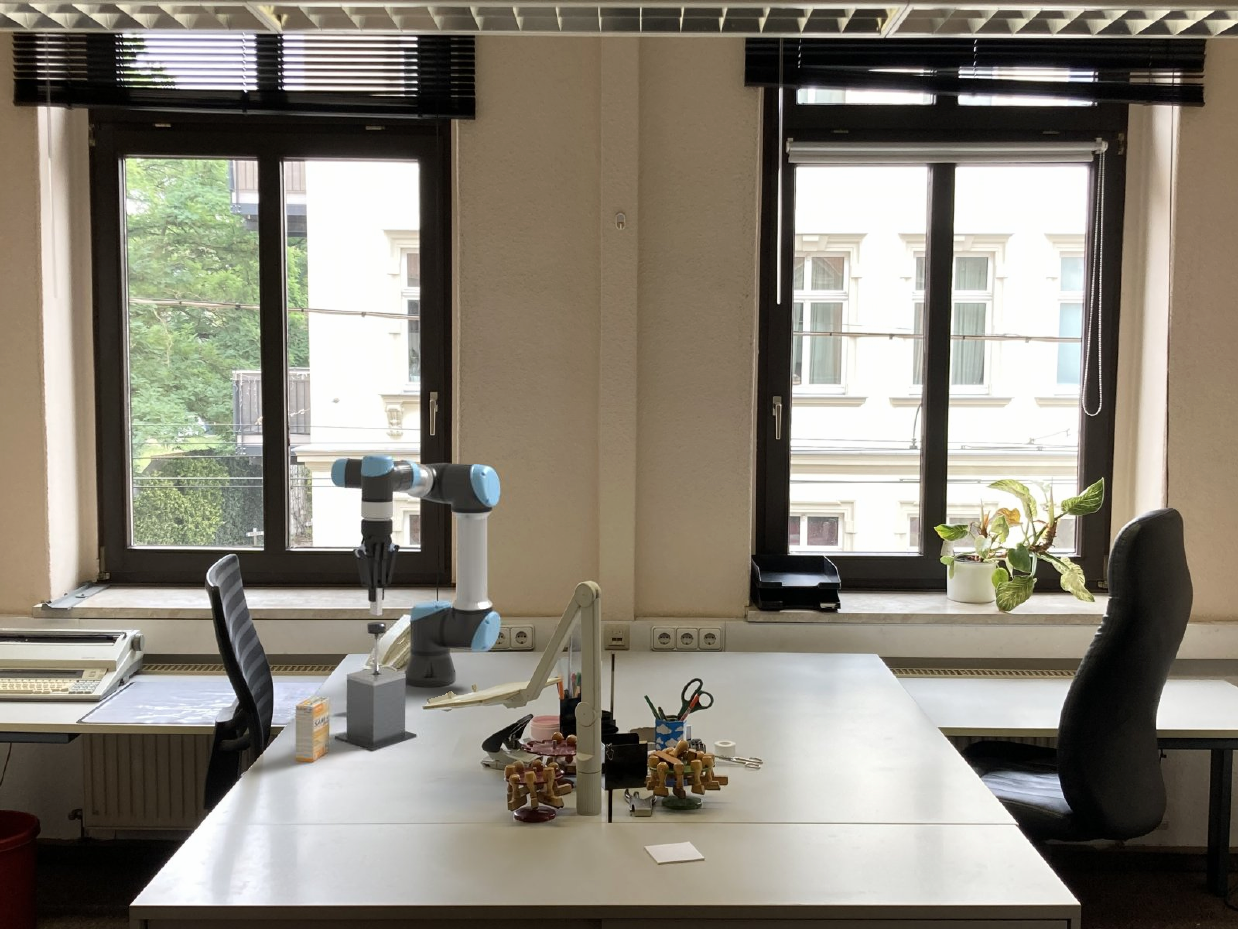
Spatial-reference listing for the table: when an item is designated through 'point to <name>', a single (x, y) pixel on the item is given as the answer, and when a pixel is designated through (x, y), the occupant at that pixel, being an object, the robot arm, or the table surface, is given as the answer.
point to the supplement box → (312, 728)
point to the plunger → (376, 639)
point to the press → (375, 709)
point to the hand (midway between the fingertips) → (376, 614)
